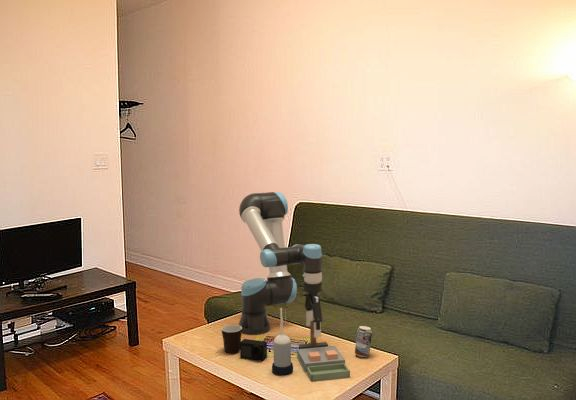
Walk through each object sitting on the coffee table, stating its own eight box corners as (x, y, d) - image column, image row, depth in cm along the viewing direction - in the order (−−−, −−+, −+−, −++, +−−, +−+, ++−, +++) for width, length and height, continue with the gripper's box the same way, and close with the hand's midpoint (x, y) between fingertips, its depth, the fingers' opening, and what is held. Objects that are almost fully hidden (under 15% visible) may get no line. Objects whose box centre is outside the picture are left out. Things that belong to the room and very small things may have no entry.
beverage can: (351, 356, 210) (351, 328, 209) (362, 350, 216) (362, 323, 214) (364, 360, 206) (364, 331, 205) (374, 354, 211) (374, 326, 210)
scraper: (298, 351, 216) (298, 321, 215) (326, 348, 218) (325, 319, 217) (300, 353, 213) (300, 324, 212) (328, 351, 216) (327, 321, 214)
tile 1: (308, 357, 201) (308, 352, 201) (317, 356, 202) (317, 351, 202) (310, 361, 197) (310, 356, 197) (320, 360, 198) (320, 355, 198)
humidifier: (275, 365, 202) (274, 304, 199) (295, 368, 200) (295, 306, 197) (268, 374, 195) (267, 311, 192) (289, 377, 192) (288, 313, 189)
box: (306, 372, 195) (306, 366, 195) (344, 369, 198) (344, 362, 198) (311, 381, 189) (311, 374, 188) (350, 377, 191) (349, 370, 191)
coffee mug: (239, 356, 212) (238, 332, 211) (219, 354, 213) (218, 331, 212) (246, 345, 223) (246, 323, 222) (228, 343, 225) (227, 321, 224)
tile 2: (325, 355, 203) (325, 350, 202) (334, 354, 203) (334, 349, 203) (328, 359, 199) (328, 354, 198) (337, 358, 199) (337, 353, 199)
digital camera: (238, 359, 208) (238, 343, 208) (244, 354, 213) (243, 338, 213) (262, 363, 205) (261, 346, 204) (267, 357, 210) (266, 341, 209)
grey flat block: (297, 357, 209) (297, 349, 209) (334, 353, 212) (334, 345, 212) (305, 372, 196) (305, 363, 195) (345, 368, 199) (345, 359, 198)
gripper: (297, 275, 224) (298, 321, 226) (311, 290, 199) (311, 342, 202) (314, 273, 225) (314, 320, 227) (329, 289, 201) (330, 341, 203)
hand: (313, 331), depth 215 cm, fingers open, 13 cm apart
